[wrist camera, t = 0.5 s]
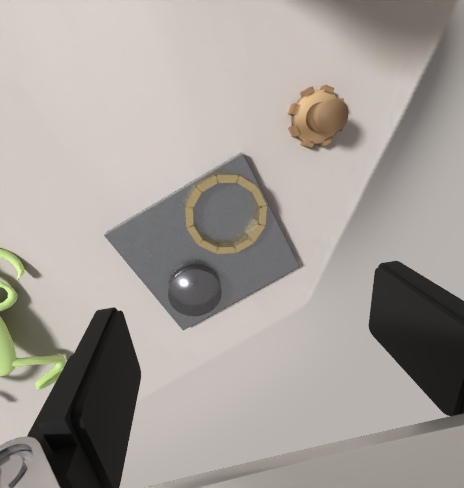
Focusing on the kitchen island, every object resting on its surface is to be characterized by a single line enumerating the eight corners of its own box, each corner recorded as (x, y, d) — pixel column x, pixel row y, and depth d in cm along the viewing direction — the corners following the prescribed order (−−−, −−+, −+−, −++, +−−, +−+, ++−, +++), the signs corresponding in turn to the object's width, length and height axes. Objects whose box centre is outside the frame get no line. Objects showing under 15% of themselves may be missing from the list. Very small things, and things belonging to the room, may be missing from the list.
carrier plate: (107, 231, 39) (99, 240, 36) (240, 152, 38) (245, 154, 35) (183, 324, 47) (182, 338, 44) (296, 262, 46) (304, 272, 43)
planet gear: (278, 105, 36) (293, 101, 31) (329, 75, 36) (352, 66, 31) (300, 157, 39) (316, 161, 34) (347, 129, 39) (370, 129, 34)
